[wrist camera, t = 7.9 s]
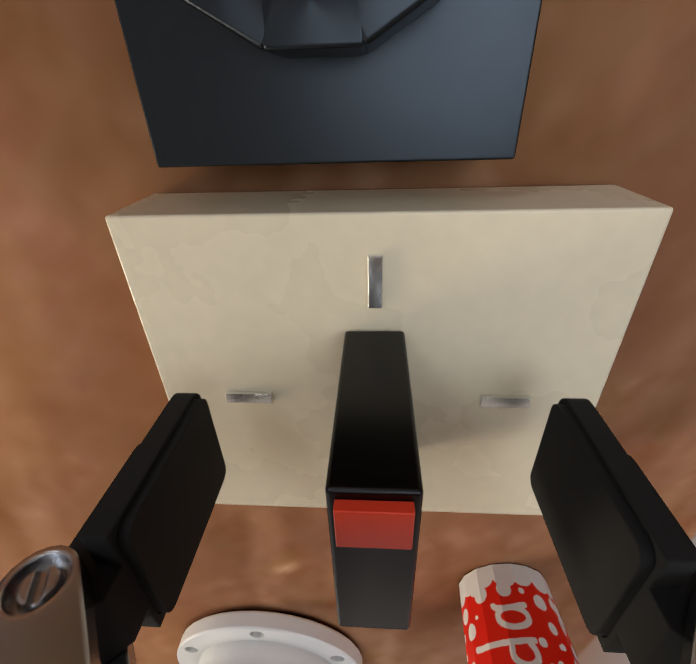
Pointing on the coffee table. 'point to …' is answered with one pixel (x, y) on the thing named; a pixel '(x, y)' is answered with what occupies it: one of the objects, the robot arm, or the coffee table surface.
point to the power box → (330, 79)
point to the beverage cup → (512, 618)
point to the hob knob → (374, 483)
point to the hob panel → (388, 320)
